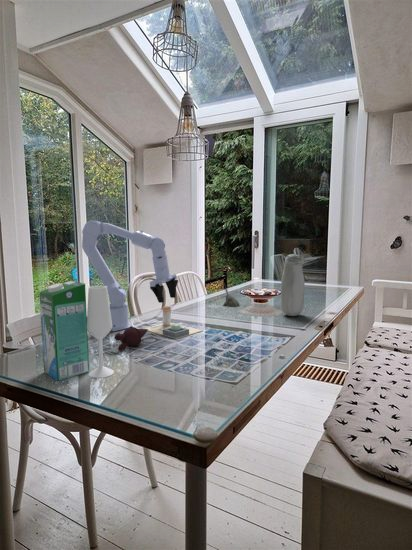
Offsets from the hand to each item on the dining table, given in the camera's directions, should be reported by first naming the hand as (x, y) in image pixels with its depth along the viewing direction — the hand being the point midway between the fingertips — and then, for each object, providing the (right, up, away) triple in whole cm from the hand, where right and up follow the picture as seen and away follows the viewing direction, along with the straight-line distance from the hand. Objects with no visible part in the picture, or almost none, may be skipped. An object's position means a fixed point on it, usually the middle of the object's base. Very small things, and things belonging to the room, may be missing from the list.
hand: (167, 299), depth 155 cm
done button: (+5, -11, -13) cm, 18 cm away
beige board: (+3, -11, -7) cm, 14 cm away
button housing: (+5, -12, -13) cm, 19 cm away
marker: (0, -10, 0) cm, 10 cm away
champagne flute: (-13, -17, -51) cm, 55 cm away
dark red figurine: (-9, -14, -26) cm, 31 cm away
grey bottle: (+55, -8, +17) cm, 58 cm away
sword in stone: (+29, -6, +42) cm, 51 cm away
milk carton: (-23, -17, -50) cm, 57 cm away
